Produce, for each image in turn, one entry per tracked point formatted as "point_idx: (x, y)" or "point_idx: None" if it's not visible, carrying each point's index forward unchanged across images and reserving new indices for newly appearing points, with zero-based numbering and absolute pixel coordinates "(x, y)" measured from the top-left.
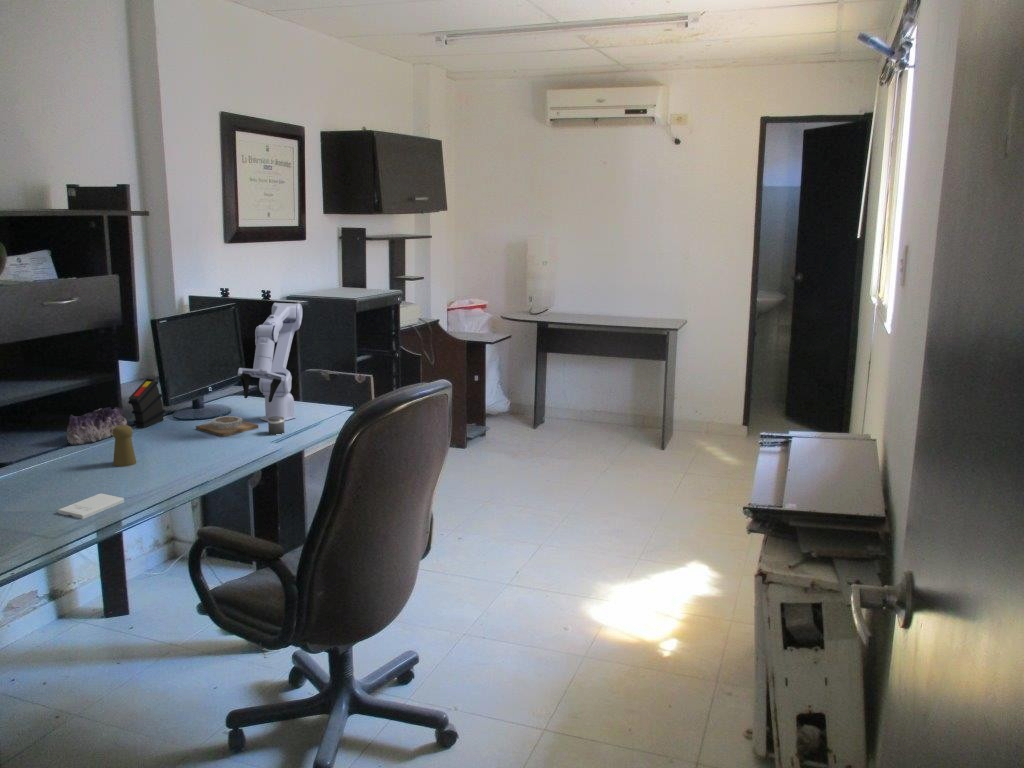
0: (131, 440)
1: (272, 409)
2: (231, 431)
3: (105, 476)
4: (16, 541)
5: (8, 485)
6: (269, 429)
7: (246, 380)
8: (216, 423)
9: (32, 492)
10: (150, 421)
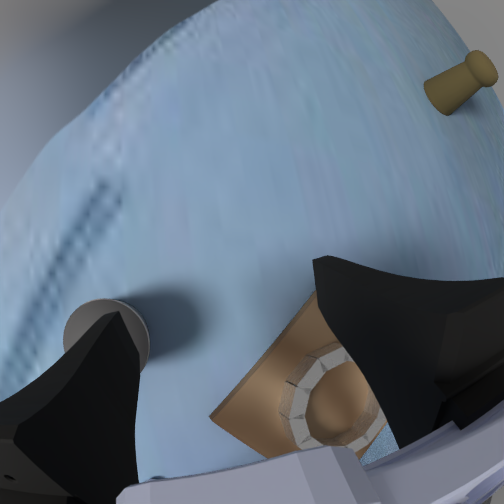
0: (460, 71)
1: None
2: (305, 315)
3: (425, 48)
4: None
5: None
6: (141, 316)
7: (433, 286)
8: None
9: (453, 37)
10: None
